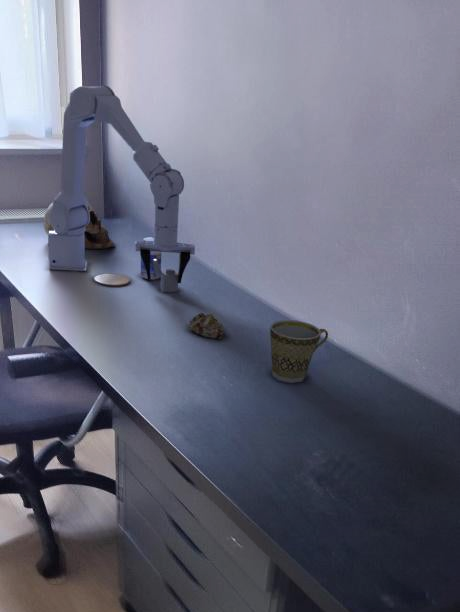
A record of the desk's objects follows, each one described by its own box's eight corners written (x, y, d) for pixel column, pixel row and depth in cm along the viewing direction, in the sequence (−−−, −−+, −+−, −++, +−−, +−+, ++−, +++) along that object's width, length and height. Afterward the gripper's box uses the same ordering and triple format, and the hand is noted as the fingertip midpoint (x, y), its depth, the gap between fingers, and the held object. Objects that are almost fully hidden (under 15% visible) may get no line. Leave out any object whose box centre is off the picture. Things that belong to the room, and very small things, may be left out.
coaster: (93, 285, 180) (93, 283, 180) (95, 274, 187) (95, 272, 187) (129, 287, 181) (129, 285, 181) (129, 276, 189) (129, 274, 188)
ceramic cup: (280, 389, 139) (287, 340, 134) (255, 369, 146) (261, 322, 141) (334, 381, 145) (343, 334, 139) (308, 362, 152) (315, 316, 146)
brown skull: (119, 245, 211) (114, 197, 202) (70, 259, 201) (62, 210, 193) (88, 234, 220) (82, 188, 211) (40, 247, 210) (31, 199, 202)
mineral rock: (179, 315, 161) (209, 303, 163) (182, 332, 164) (212, 320, 166) (202, 334, 154) (233, 320, 156) (205, 351, 157) (236, 338, 159)
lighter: (175, 289, 183) (177, 257, 179) (177, 291, 182) (179, 259, 178) (149, 290, 181) (150, 258, 176) (151, 292, 180) (152, 260, 175)
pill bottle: (159, 280, 188) (160, 242, 182) (139, 278, 188) (139, 240, 182) (161, 274, 192) (162, 237, 187) (141, 272, 192) (142, 235, 187)
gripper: (136, 227, 168) (135, 284, 176) (197, 231, 170) (193, 287, 178) (135, 220, 174) (135, 275, 181) (194, 223, 176) (191, 279, 184)
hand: (164, 281), depth 180 cm, fingers closed on lighter, 7 cm apart
